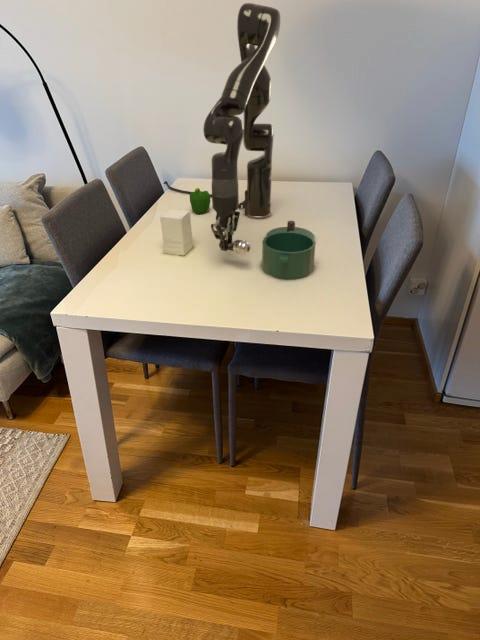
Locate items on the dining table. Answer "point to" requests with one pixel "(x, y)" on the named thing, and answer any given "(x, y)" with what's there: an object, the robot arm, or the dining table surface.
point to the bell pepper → (200, 201)
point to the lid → (291, 229)
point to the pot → (288, 255)
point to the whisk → (239, 246)
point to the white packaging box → (176, 232)
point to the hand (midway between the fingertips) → (226, 248)
